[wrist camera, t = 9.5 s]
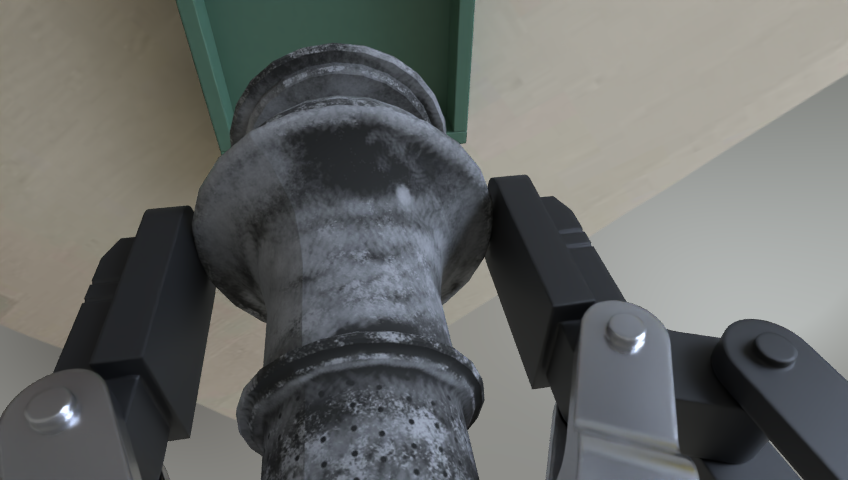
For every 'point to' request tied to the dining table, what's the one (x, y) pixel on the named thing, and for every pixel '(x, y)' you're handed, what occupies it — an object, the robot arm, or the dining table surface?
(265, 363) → the salt shaker
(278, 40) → the tray
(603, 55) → the dining table surface
